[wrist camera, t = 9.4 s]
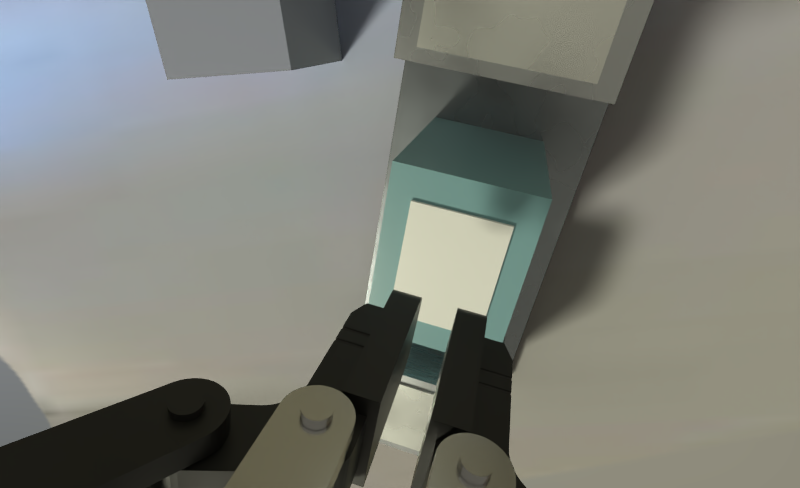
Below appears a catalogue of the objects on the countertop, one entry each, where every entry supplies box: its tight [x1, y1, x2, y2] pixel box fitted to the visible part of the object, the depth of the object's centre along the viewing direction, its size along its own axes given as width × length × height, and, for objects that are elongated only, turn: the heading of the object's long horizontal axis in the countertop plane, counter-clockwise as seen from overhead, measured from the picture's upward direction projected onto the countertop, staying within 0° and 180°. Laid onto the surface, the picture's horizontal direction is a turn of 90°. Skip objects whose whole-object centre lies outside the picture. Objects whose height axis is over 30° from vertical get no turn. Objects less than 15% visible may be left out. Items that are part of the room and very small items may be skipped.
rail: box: [365, 0, 654, 456], centre depth 18 cm, size 20×8×7 cm, turn 170°
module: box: [369, 117, 552, 352], centre depth 17 cm, size 6×4×7 cm
